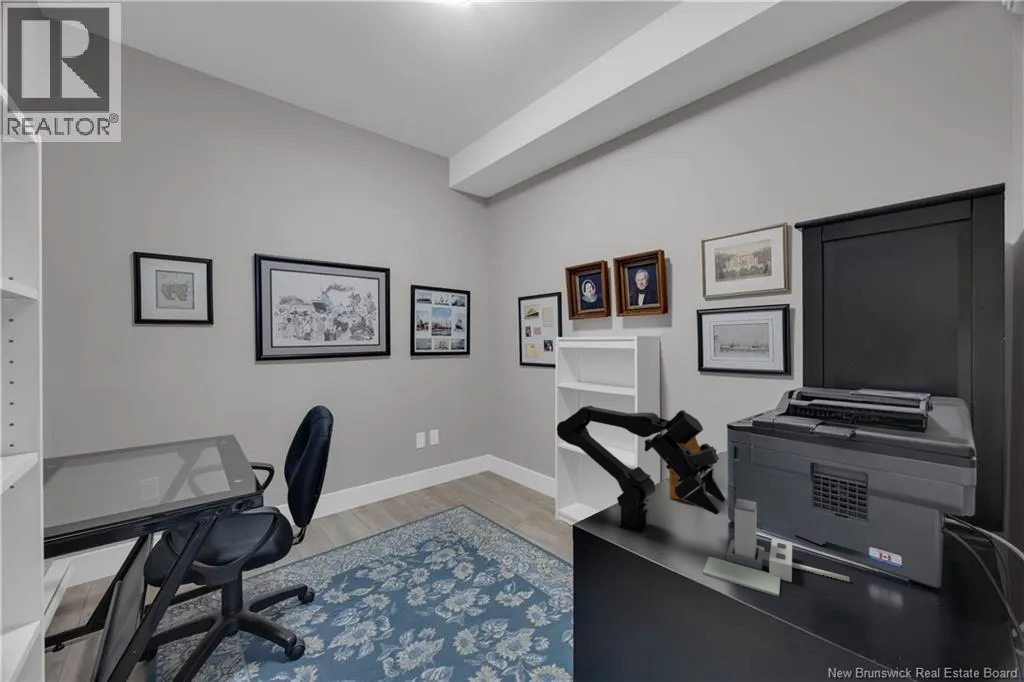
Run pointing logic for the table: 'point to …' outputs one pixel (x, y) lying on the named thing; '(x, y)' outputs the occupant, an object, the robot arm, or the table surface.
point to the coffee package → (673, 479)
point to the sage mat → (743, 576)
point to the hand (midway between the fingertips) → (721, 506)
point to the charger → (745, 529)
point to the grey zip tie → (776, 560)
